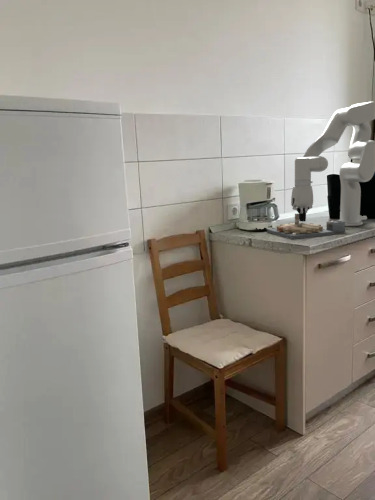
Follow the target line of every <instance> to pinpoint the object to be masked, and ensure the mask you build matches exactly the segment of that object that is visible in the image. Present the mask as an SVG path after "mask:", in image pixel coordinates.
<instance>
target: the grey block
mask: <svg viewBox="0 0 375 500" xmlns="http://www.w3.org/2000/svg"><path fill="white" fill-rule="evenodd" d="M326 230H330V231H334V234H340V233H345V232H346V226H345V222H343V221H341V220H340V219H337V220H330V221H327V222H326Z"/></svg>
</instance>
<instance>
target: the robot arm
mask: <svg viewBox="0 0 375 500" xmlns="http://www.w3.org/2000/svg"><path fill="white" fill-rule="evenodd" d="M374 120H375V101H368V102H359V103H355V104H352V105H351V106H349V107H344V108H339V109H337V110H335V111H334V113H333V114H332V116H331V118H330V119H329V121H328V123H327V125H326V127H325V129H324V131H323V132H322V134H321V135H320V136H319V137H318V138H316V140H314V142H313V143H312V144H311V145H310V146H309V147H308V148H307V149H306V151H305V153H304V155H303V157H296V158H295V160H294V186H292V191H291V197H290V198H291V199H290V202H291V203H290V205H291V207H292V210H293V211H297V214H299V222H301V223H304V222H306V221H307V213H308V211H309V210H310V209H313V205H314V191H313V190H314V189H313V187H312V184H313V179H312V173H322V172H323V171H325V170H326V169H328V167H329V162H328V159H327V158H326V157H324V156H322V155H321V154H322V153H323V152H324V151H326V150H328V149H330V148H332V147H333V146H335V145H337V144H338V143H339V141H340V139H341V137H342V136H343V134H344V132H345V130H346V129H347V127H352V129H353V130H352V136H351V139H350V143H349V147H348V151H347V155H348V158H349V159H350V160H353V161H349V162H346V163H344V164H343V165H341V167H340V168H339V180H340V205H339V210H340V211H339V220H341V221H343V222H345V227H356V226H359V227H360V226H362V225H363V220H367V219H368V217H367V215H363V216H362V215H361V197H362V194H361V193H362V191H361V190H362V189H361V185H360V183H366V182H370V180H372V178H373V177H374V174H375V140H371V135H372V128H371V125H370V122H371V121H374ZM357 161H359V162H357Z"/></svg>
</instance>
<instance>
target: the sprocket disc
mask: <svg viewBox="0 0 375 500" xmlns="http://www.w3.org/2000/svg"><path fill="white" fill-rule="evenodd" d="M276 228H277V230H278V231H279V232H280V231H283V232H284V233H296V234H300V233H312V232H320V230H323V229H324V226H323V225H322V224H314V223H304V222H300V221H299V213H294V222H293V223H292V222H290V223H286V224H285V223H282V224H280V225H277V226H276Z"/></svg>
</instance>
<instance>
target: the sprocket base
mask: <svg viewBox="0 0 375 500" xmlns="http://www.w3.org/2000/svg"><path fill="white" fill-rule="evenodd" d="M266 233H269V234H272V235H275V236H279V237H283V238H286V239H289V240H290V239H291V240H301V239H307V238H308V239H309V238H316V237H327V236H334V235H335V233H334V231H330V230H327V229H324V228H323V230H320V232H312V233H300V234H296V233H284V232H283V231H280V232H279V231H278V230H277V227H275V228H274V229H266Z"/></svg>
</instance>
